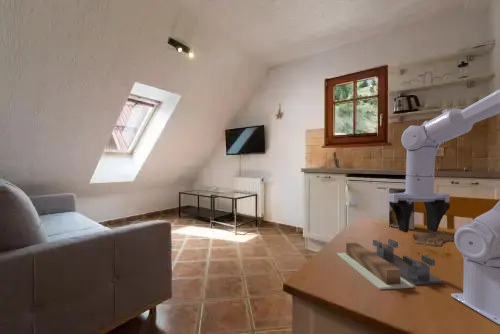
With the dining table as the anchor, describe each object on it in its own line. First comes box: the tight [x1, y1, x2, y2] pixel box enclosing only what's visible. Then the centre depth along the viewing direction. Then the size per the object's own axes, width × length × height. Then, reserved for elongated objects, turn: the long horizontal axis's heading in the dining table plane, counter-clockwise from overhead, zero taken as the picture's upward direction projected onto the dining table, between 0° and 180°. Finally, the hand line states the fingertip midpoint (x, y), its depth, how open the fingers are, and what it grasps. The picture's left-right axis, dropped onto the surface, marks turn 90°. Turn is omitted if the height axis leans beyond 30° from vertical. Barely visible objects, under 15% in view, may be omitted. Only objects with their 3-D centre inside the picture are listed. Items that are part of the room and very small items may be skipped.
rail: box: [345, 242, 401, 285], centre depth 62 cm, size 18×3×3 cm, turn 6°
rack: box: [372, 238, 444, 286], centre depth 63 cm, size 18×7×5 cm, turn 6°
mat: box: [336, 252, 415, 290], centre depth 62 cm, size 20×8×1 cm, turn 6°
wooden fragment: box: [413, 230, 454, 247], centre depth 88 cm, size 26×11×1 cm, turn 122°
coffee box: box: [388, 187, 415, 230], centre depth 103 cm, size 9×6×16 cm
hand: (417, 230), depth 60 cm, fingers open, 7 cm apart
